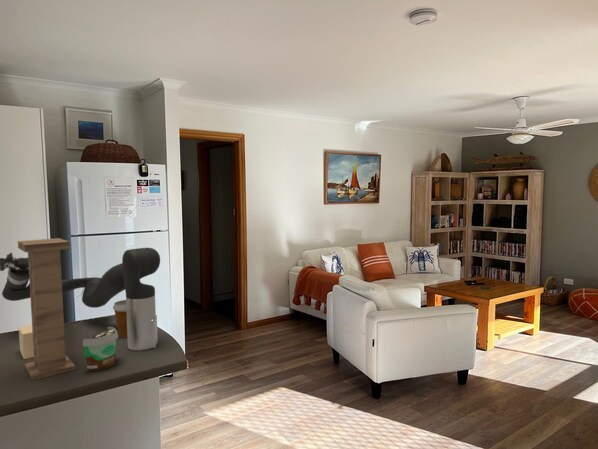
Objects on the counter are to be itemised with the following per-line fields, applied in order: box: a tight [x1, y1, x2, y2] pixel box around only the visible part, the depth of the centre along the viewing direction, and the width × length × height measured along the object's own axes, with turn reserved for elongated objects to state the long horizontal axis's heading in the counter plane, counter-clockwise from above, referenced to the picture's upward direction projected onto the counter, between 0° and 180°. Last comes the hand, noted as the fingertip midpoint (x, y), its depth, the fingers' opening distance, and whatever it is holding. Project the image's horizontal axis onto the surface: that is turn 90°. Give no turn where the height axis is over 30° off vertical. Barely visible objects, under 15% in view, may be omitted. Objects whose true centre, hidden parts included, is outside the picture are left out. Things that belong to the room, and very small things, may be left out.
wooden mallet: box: [18, 324, 34, 360], centre depth 150 cm, size 22×9×8 cm, turn 39°
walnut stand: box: [17, 237, 77, 381], centre depth 130 cm, size 12×11×38 cm
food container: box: [82, 326, 119, 372], centre depth 133 cm, size 12×6×10 cm, turn 168°
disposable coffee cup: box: [112, 299, 128, 339], centre depth 160 cm, size 10×10×12 cm
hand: (26, 254), depth 151 cm, fingers open, 8 cm apart
